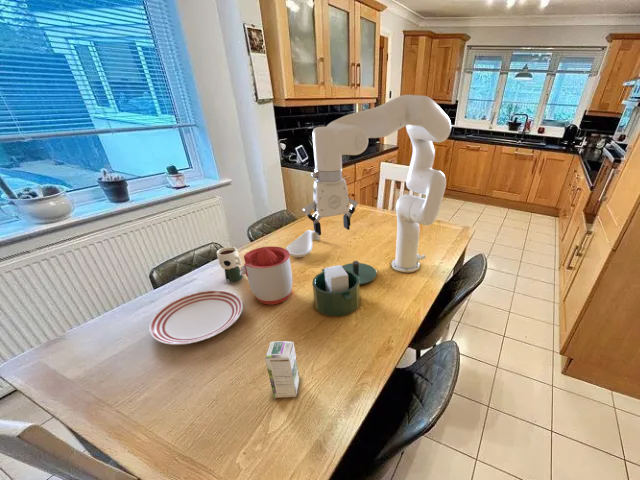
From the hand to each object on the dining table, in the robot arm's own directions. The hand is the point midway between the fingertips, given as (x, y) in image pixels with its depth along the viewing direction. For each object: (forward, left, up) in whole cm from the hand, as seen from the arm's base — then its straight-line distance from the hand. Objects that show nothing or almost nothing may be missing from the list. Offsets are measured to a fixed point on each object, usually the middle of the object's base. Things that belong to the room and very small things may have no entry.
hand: (332, 230), depth 97 cm
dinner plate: (+44, -12, -28) cm, 54 cm away
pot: (0, 0, -28) cm, 28 cm away
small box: (0, 0, -28) cm, 28 cm away
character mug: (+30, -34, -28) cm, 54 cm away
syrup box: (+27, +29, -28) cm, 49 cm away
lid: (-15, -14, -28) cm, 34 cm away
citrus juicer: (+20, -15, -28) cm, 38 cm away
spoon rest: (-4, -47, -28) cm, 55 cm away
